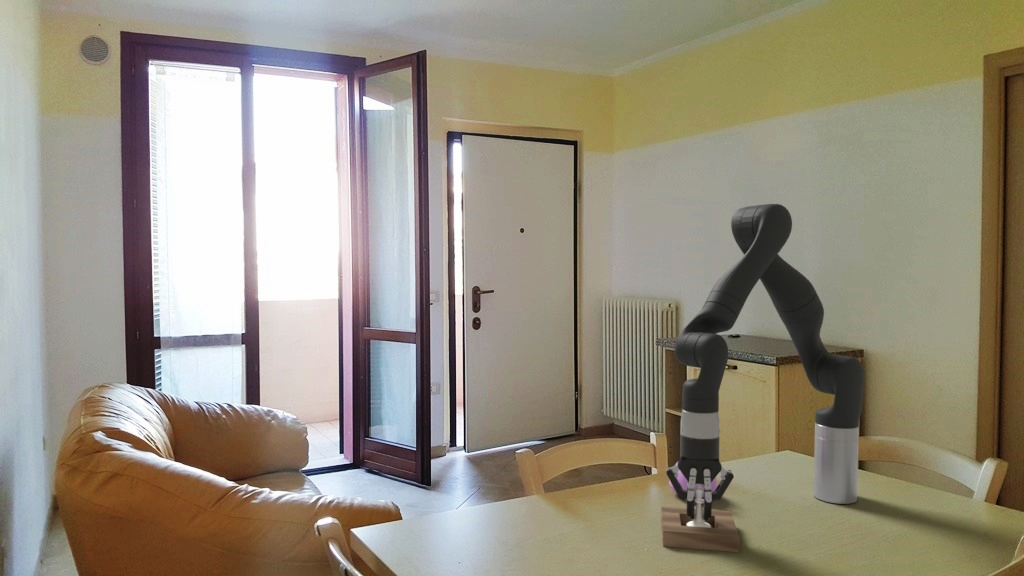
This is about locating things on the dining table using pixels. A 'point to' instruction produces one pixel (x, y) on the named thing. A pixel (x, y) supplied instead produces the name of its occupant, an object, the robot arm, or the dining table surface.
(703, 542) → the socket block
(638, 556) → the dining table surface
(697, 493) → the chess piece
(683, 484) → the teapot
